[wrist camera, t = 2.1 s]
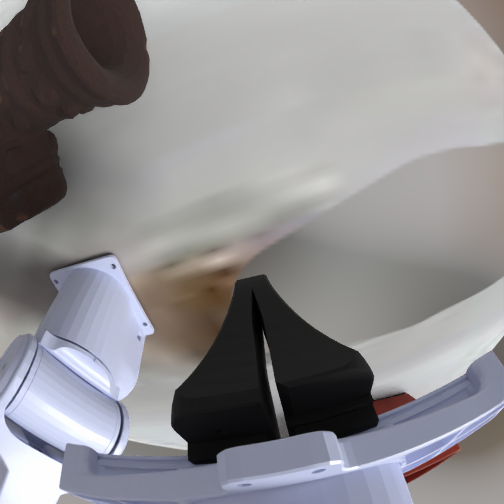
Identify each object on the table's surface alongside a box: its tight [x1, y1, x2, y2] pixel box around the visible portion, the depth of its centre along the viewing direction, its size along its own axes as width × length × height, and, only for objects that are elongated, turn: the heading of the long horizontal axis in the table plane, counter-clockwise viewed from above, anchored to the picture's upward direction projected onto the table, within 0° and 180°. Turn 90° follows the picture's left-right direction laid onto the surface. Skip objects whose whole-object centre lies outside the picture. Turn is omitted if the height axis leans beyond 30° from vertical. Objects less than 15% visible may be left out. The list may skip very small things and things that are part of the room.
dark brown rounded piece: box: [0, 0, 149, 233], centre depth 12 cm, size 10×15×15 cm
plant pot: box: [373, 393, 461, 484], centre depth 39 cm, size 19×19×17 cm
